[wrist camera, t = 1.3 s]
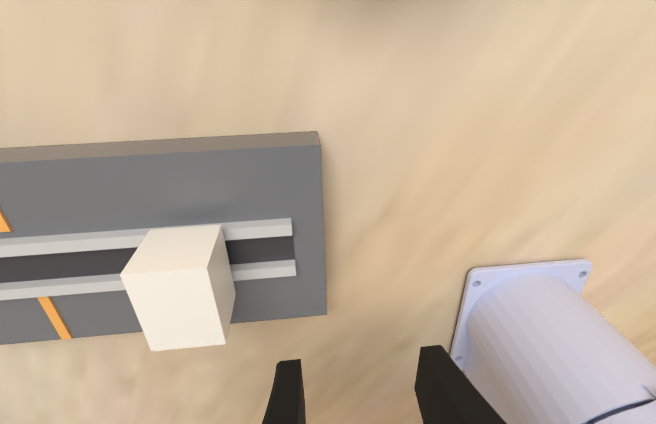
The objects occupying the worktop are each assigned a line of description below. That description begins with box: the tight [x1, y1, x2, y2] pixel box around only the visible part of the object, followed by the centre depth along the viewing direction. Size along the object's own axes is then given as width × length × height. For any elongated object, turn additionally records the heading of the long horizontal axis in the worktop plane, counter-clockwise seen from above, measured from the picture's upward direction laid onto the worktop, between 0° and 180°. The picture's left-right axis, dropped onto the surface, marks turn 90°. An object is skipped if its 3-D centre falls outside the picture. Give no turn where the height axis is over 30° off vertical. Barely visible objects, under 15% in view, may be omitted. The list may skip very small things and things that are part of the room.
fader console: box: [0, 131, 327, 345], centre depth 17 cm, size 10×20×3 cm, turn 92°
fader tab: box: [120, 225, 236, 351], centre depth 15 cm, size 4×3×4 cm
